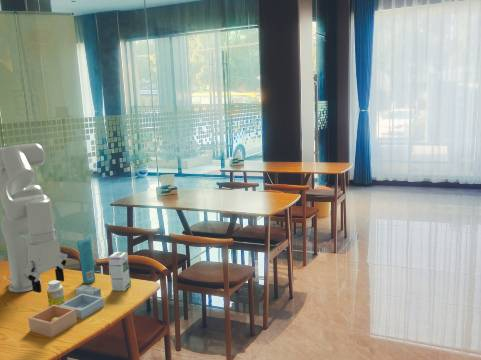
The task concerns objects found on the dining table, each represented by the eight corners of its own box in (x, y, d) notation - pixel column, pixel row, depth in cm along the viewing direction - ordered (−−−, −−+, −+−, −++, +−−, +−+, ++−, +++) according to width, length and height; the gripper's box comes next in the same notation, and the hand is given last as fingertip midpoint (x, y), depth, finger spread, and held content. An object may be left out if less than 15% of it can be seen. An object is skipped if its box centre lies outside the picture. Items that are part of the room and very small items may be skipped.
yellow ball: (49, 327, 156) (48, 319, 155) (56, 323, 159) (55, 315, 158) (55, 329, 155) (54, 320, 154) (62, 324, 157) (61, 316, 157)
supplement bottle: (49, 306, 174) (45, 280, 172) (64, 303, 176) (61, 277, 174) (49, 312, 169) (45, 286, 167) (65, 309, 171) (62, 283, 169)
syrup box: (125, 291, 184) (121, 256, 181) (111, 290, 185) (107, 256, 183) (131, 285, 190) (128, 251, 187) (118, 284, 191) (114, 251, 188)
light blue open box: (61, 315, 166) (59, 305, 165) (83, 303, 175) (81, 293, 174) (82, 321, 161) (81, 310, 160) (104, 308, 170) (103, 297, 169)
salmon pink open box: (30, 333, 154) (28, 317, 153) (55, 318, 164) (53, 304, 163) (52, 339, 150) (50, 323, 149) (77, 324, 159) (75, 309, 158)
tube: (90, 277, 200) (85, 235, 196) (99, 278, 198) (94, 236, 194) (78, 284, 193) (73, 240, 190) (87, 285, 191) (82, 241, 188)
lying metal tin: (76, 298, 180) (75, 288, 179) (84, 294, 184) (83, 284, 183) (94, 302, 176) (92, 292, 175) (101, 297, 180) (100, 288, 179)
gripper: (55, 228, 160) (61, 275, 163) (11, 243, 145) (19, 294, 148) (71, 230, 156) (77, 277, 160) (27, 246, 141) (35, 298, 145)
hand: (49, 286), depth 154 cm, fingers open, 9 cm apart
